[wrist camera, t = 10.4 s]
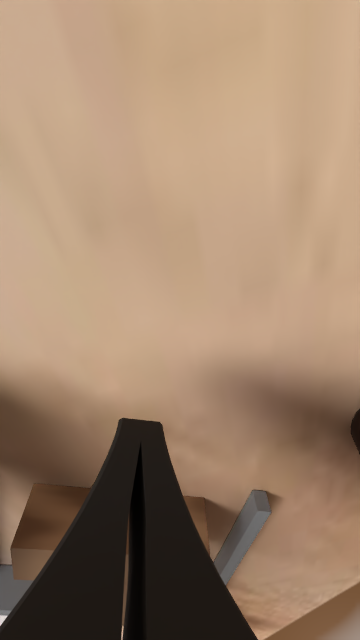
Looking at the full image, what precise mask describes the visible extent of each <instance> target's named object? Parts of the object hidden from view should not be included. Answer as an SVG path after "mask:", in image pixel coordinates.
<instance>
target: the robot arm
mask: <svg viewBox="0 0 360 640" xmlns="http://www.w3.org/2000/svg"><path fill="white" fill-rule="evenodd" d="M128 517H129V550H128V584H127V597H126V608H125V619H124V630H123V640H258V639H257V637H256V636H255V634H254V632H253V631H252V629H251V628H250V626H249V624H248V623H247V621H246V620H245V618H244V617H243V615H242V613H241V611H240V610H239V608H238V606H237V604H236V603H235V601H234V599H233V597H232V596H231V594H230V592H229V591H228V589H227V587H226V585H225V584H224V582H223V580H222V578H221V577H220V575H219V573H218V571H217V569H216V567H215V565H214V563H213V561H212V559H211V557H210V556H209V554H208V552H207V549H206V547H205V545H204V543H203V541H202V539H201V537H200V535H199V533H198V531H197V528H196V526H195V524H194V522H193V519H192V517H191V515H190V512H189V510H188V507H187V505H186V502H185V500H184V497H183V495H182V492H181V489H180V486H179V484H178V481H177V478H176V475H175V472H174V469H173V466H172V463H171V460H170V456H169V453H168V449H167V445H166V441H165V437H164V432H163V426H162V424H161V423H160V422H155V421H146V420H137V419H128V418H122V419H120V420H119V422H118V427H117V431H116V434H115V437H114V440H113V443H112V445H111V448H110V450H109V453H108V455H107V457H106V459H105V462H104V464H103V466H102V468H101V470H100V472H99V474H98V477H97V478H96V480H95V482H94V484H93V486H92V488H91V490H90V492H89V493H88V495H87V497H86V499H85V501H84V503H83V505H82V506H81V508H80V510H79V512H78V513H77V515H76V517H75V518H74V520H73V522H72V523H71V525H70V527H69V528H68V530H67V531H66V533H65V535H64V536H63V538H62V539H61V541H60V543H59V544H58V546H57V547H56V549H55V550H54V552H53V553H52V555H51V556H50V558H49V559H48V561H47V562H46V564H45V565H44V567H43V568H42V570H41V571H40V572H39V574H38V575H37V577H36V578H35V580H34V581H33V582H32V584H31V585H30V587H29V588H28V589H27V591H26V592H25V593H24V595H23V596H22V598H21V599H20V600H19V602H18V603H17V604H16V606H15V607H14V608H13V610H12V611H11V612H10V614H9V615H8V616H7V618H6V619H5V621H4V622H3V623H2V625H1V626H0V640H121V632H122V613H123V594H124V578H125V561H126V545H127V530H128Z"/></svg>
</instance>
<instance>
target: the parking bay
mask: <svg viewBox="0 0 360 640" xmlns="http://www.w3.org/2000/svg"><path fill="white" fill-rule="evenodd" d="M270 513H271V509H270V505H269V502H268V498H267V494H266V491H258V490H252V492H251V494H250V496H249V498H248V500H247V501H246V503H245V505H244V507H243V509H242V511H241V513H240V514H239V516H238V518H237V520H236V522H235V524H234V526H233V527H232V529H231V531H230V533H229V535H228V537H227V539H226V540H225V542H224V544H223V546H222V548H221V550H220V552H219V553H218V555H217V557H216V559H215V561H214V565H215V567H216V569H217V571H218V573H219V575H220V577H221V578H222V580H223V582H224V584H225V585H226V584H227V583H228V581H229V580H230V578H231V576H232V575H233V573H234V571H235V570H236V568H237V567H238V565H239V563H240V562H241V560H242V559H243V557H244V555H245V554H246V552H247V551H248V549H249V547H250V546H251V544H252V542H253V541H254V539H255V538H256V536H257V534H258V533H259V531H260V530H261V528H262V526H263V525H264V523H265V522H266V520H267V518H268V517H269V515H270ZM33 581H34V580H14V577H13V568H12V565H0V615H9V614H10V612H11V611H12V610H13V608H14V607H15V606H16V604H17V603H18V602H19V600H20V599H21V598H22V596H23V595H24V593H25V592H26V591H27V589H28V588H29V587H30V585H31V584H32V582H33Z"/></svg>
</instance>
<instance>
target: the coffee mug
mask: <svg viewBox="0 0 360 640" xmlns="http://www.w3.org/2000/svg"><path fill="white" fill-rule="evenodd" d="M351 435H352V437H353V440H354V442H355V445H356V447H357V449H358V451H359V454H360V409H359V410H358V411H357V412H356V414H355V416H354V418H353V420H352V424H351Z"/></svg>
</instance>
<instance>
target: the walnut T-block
mask: <svg viewBox="0 0 360 640" xmlns="http://www.w3.org/2000/svg"><path fill="white" fill-rule="evenodd" d="M90 490H91V488H82V487H70V486H58V485H46V484H34V485H33V488H32V490H31V493H30V496H29V499H28V501H27V504H26V507H25V510H24V512H23V515H22V518H21V520H20V523H19V526H18V529H17V531H16V534H15V537H14V540H13V542H12V545H11V558H12V568H13V577H14V580H35V578H36V577H37V575H38V574H39V572H40V571H41V570H42V568H43V567H44V565H45V564H46V562H47V561H48V559H49V558H50V556H51V555H52V553H53V552H54V550H55V549H56V547H57V546H58V544H59V543H60V541H61V539H62V538H63V536H64V535H65V533H66V531H67V530H68V528H69V527H70V525H71V523H72V522H73V520H74V518H75V517H76V515H77V513H78V512H79V510H80V508H81V506H82V505H83V503H84V501H85V499H86V497H87V495H88V493H89V492H90ZM183 497H184V500H185V502H186V505H187V507H188V510H189V512H190V515H191V517H192V519H193V522H194V524H195V526H196V528H197V531H198V533H199V535H200V537H201V539H202V541H203V543H204V545H205V547H206V549H207V552H208V554H209V556H210V549H209V540H208V530H207V521H206V511H205V502H204V498H202V497H190V496H183ZM128 550H129V517H128V530H127V545H126V561H125V578H124V594H123V613H122V626H124V619H125V608H126V597H127V584H128Z"/></svg>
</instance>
